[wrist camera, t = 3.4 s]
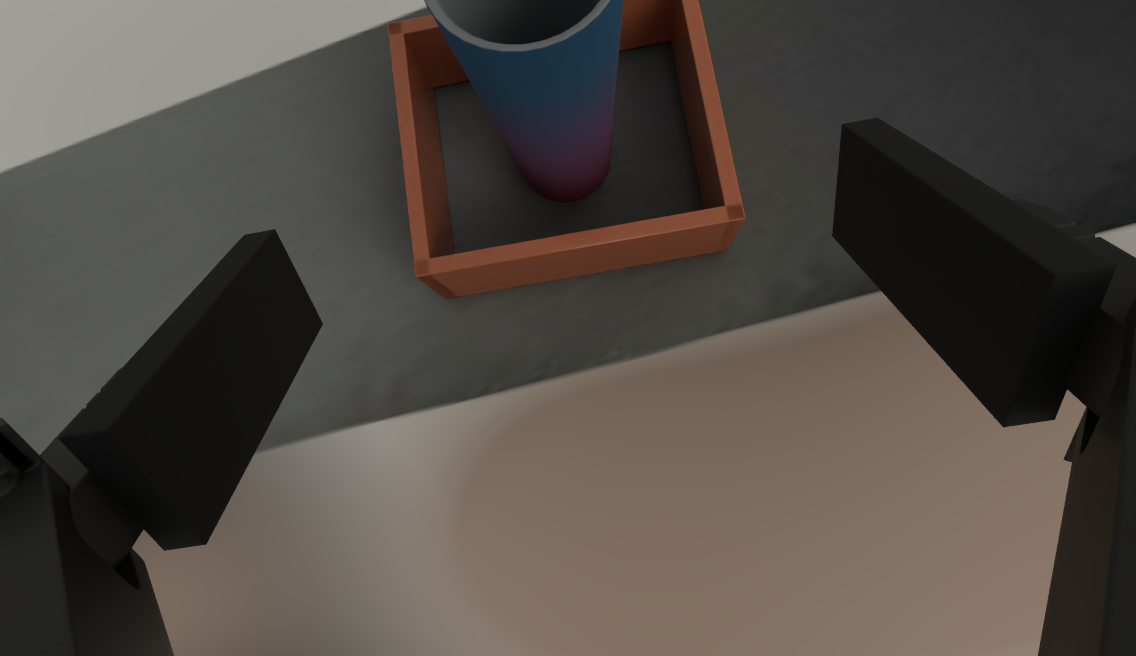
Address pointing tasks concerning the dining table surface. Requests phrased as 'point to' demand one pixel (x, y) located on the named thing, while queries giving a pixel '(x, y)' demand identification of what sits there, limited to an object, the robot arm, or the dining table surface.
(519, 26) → the cup
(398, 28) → the rectangular frame
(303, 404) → the dining table surface
